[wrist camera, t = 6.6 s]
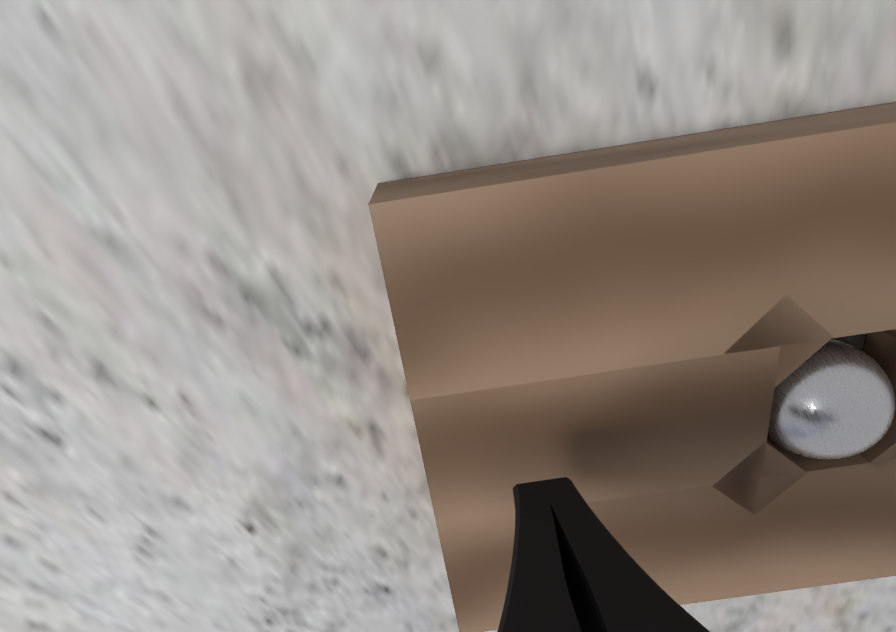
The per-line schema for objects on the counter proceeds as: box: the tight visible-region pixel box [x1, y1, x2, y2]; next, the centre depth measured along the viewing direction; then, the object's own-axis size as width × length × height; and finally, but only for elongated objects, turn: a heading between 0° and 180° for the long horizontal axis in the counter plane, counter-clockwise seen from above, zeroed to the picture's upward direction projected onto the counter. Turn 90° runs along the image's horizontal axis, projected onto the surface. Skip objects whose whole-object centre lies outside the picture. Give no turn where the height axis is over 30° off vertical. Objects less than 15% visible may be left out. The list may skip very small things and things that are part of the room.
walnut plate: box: [369, 102, 896, 632], centre depth 15 cm, size 15×18×2 cm
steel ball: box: [768, 339, 895, 459], centre depth 15 cm, size 4×4×4 cm
